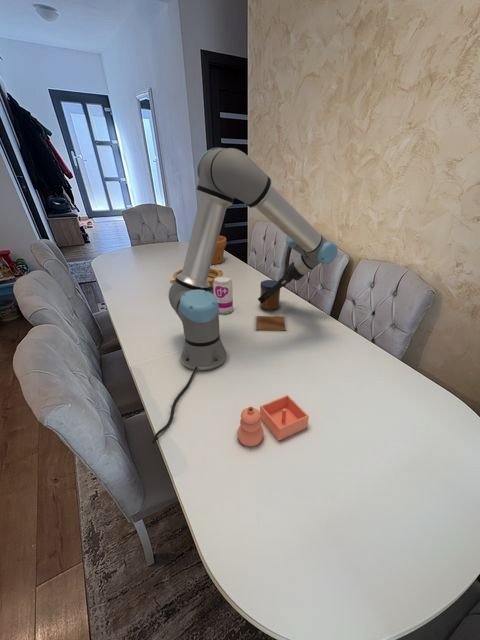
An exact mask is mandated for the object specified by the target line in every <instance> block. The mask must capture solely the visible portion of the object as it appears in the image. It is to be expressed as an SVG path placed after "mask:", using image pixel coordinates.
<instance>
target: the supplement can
mask: <svg viewBox="0 0 480 640" xmlns="http://www.w3.org/2000/svg"><path fill="white" fill-rule="evenodd" d="M212 289H213V294H214V295H215V297H216V298H217V302H218V306H219V314H220V315H228V314H230V313H232V312H233V310H234V298H233V297H234V294H233V291H234V290H233V281H232V279H231V277H229V276H226V275H225V276H223V275H222V276H221V277H216V278H215V279H214V282H213V287H212Z"/></svg>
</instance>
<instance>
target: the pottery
mask: <svg viewBox="0 0 480 640" xmlns="http://www.w3.org/2000/svg"><path fill="white" fill-rule="evenodd" d="M309 418H310V416H309V414H308V413H306V411H304V409H302V408H301V407H300V405H299V404H297V402H295V400H293V398H291V397H290V395H289V394H287V395H284V396H282V397H279V398H277V399H274V400H272V401H270V402H266V403H264V404H262V405H260V406H259V409H257V408H255V407H253V406H248V407H246V408H244V409H243V410H242V411H241V413H240V420H239V426H238V428H237V437H238V440H239V442H240V444H242V445H243V446H245V447H251V448H252V447H255V446H257V445H259V444H261V442H262V440H263V437H264V428H263V426H262V422H263V423H264V424H265V426H266V427H267V428H268V430H269V431H270V432H271V433H272V434H273V435H274V437H275V438H276V439H277V440H278V441H279V442H280V441H282V440H283V439H286V438H289V437H290V436H292V435H294V434H296V433H299V432H300V431H303V430H305V429H307V428H308V425H309Z"/></svg>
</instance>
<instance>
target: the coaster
mask: <svg viewBox="0 0 480 640" xmlns="http://www.w3.org/2000/svg"><path fill="white" fill-rule="evenodd" d="M286 330H287V328H286V321H285V317H284V316H275V315H273V316H272V315H271V316H270V315H256V331H266V332H267V331H268V332H271V331H272V332H279V331H280V332H286Z"/></svg>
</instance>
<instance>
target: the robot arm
mask: <svg viewBox="0 0 480 640" xmlns="http://www.w3.org/2000/svg"><path fill="white" fill-rule="evenodd" d="M196 170H197V171H196V172H197V173H196V174H197V177H198V182H197V187H196V193H197V195H198V198H199V199H198V200H199V201H198V204H197V209H196V213H195V216H194V222H193V225H192V229H191V233H190V237H189V242H188V246H187V250H186V251H187V252H186V256H185V259H184V264H183V268H182V269H183V271H182V273H180V274H178V275H177V276H176V281H175V283H173V284H171V285H170V287H169V290H168V301H169V304H170V306H171V308H172V309H173V311H174V312H175V313H176V315H177V316H178V318H179V319H180V321H181V323H182V328H183V329H182V330H183V336H184V344H183V348H182V351H181V362H182V364H183V366H184V367H185V368H187V369H189V370H191V371H192V373H191V375H190V376H189V379H188V381H187V383H186V385H184V387H183V388H182V390H181V391H180V392H179V393H177V396H176V397H175V399H174V400H173V402H172V405H171V408H170V415H169V419H168V421H167V423H166V424H165V425H164V426H163V427H161V429H159V430H158V431H157V432H156V433H155V434H154V436H153V438H152V440H151V445H154V444H156V441H157V438H159V436H160V434H162V433H163V432H165V431H166V430H167V429H168V427H170V425H171V423H172V421H173V417H174V413H175V408H176V405H177V402H178V400H179V399H180V397H181V396H182V395H183V394H184V393H185V391H186V390H187V389H188V387H189V386H190V384H191V382H192V380H193V378H194V376H195V374H196V373H197V372H208V371H212V370H215V369H218V368H220V367H221V366H223V365H224V364H225V362H227V361H226V360H227V351H226V348H225V347H224V344H223V341H222V340H221V335H220V334H221V333H220V331H221V330H220V315H219V314H220V313H219V306H218V302H217V298H216V297H215V295H214V293H212V292H211V291H209V290H210V289H209V287H210V284H209V282H208V281H207V277H208V274H209V270H210V268H211V263H212V259H213V255H214V252H215V248H216V244H217V241H218V237H219V236H220V233H221V230H222V226H223V222H224V218H225V215H226V211H227V208H229V207H230V206H232V205H233V204H234V200H235V199H237V200H239V201H241V202H243V203H244V205H246V206H247V207H248V208H250V209H253V208H255V209H256V210H258V211H259V213H260V214H262V215H263V216H264V217H265V218H267V220H269V221H270V222H271V223H272V224H273V225H275V226H276V227H277V228H278V229H279V230H280V231H281V232H282V233H284V234H285V243H286V246H288V247H290V249H291V250H294V251H295V252H296V253H298V254H300V255H299V256H298V257H297V258H296V259H294V261H292V262H291V263H290V264H289V265H287V267H286V271H287V272H285V273H284V274H283V275H282V276H281V278H280V279H278V280H277V281H278V283H277V284H276V285H274V286H273V287H272V288H271V289H270V290H266V291H267V292H265V293H264V294H263V295H262V296H260V295H259V297H258V298H257V301H259V304H260V303H263V302H264V301H265V300H266V299H268V298H269V297H271V296H272V295H273V294H274V293H275V292H277V291H278V290H279V289H280V290H281V289H282V288H283V287H285V286H287V285H288V284H289V283H291V282H292V280H294V281H300V280H301V279H302V278H303V277H305V276H306V275H307V274H308V273H310V274H311V273H312V271H313V269H315V268H316V267H318V266H319V265H320V264H324V265H329V264H332V263H333V262H334V261H335V259H336V258H337V256H338V251H339V250H338V246H337V244H336V243H335V242H332V241H331V240H327V239H326V238H325V236H323V235H322V234H321V233H320V232H319V231H318V230H317V229H316V228H315V226H313V225H312V224H311V223H310V222H309V221H308V220H307V219H306V218H305V217H304V216H303V215H302V214H301V213H300V212H299V211H298V210H297V209H296V208H295V207H294V206H293V205H292V204H291V203H290V202H289V201H288V200H287V199H286V198H285V196H283V195H282V194H281V193H280V192H279V191H278V190H277V189H276V187H274V186H273V185H272V183H273V182H272V179H271V177H270V176H269V175H267V173H266V172H265V171H264V170H263V169H262V168H261V167H260V166H259V165H258V164H257V163H256V162H255V161H254V160H253V159H252V157H250V156H249V155H247V154H246V153H245V152H243V151H242V150H240V149H238V148H233V147H228V148H227V147H226V148H225V147H213V148H210V149H208V150H206V151H205V152H204V153H202V154H201V156H200V158H199V160H198V162H197V167H196Z"/></svg>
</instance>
